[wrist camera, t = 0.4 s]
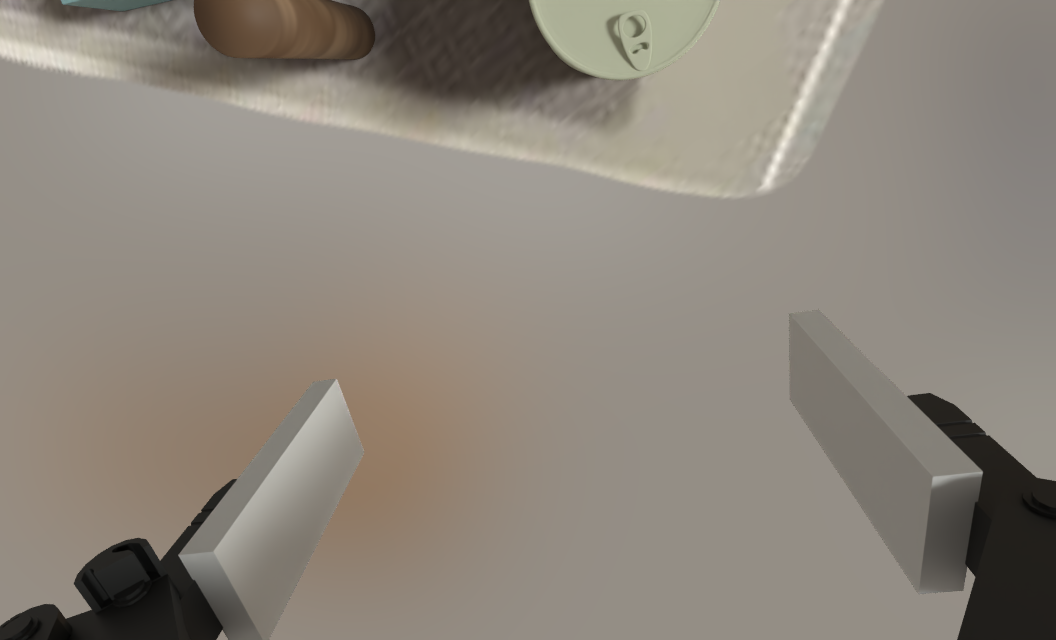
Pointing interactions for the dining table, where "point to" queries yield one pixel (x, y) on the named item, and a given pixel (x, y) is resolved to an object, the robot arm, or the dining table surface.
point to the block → (112, 4)
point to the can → (622, 33)
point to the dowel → (285, 28)
